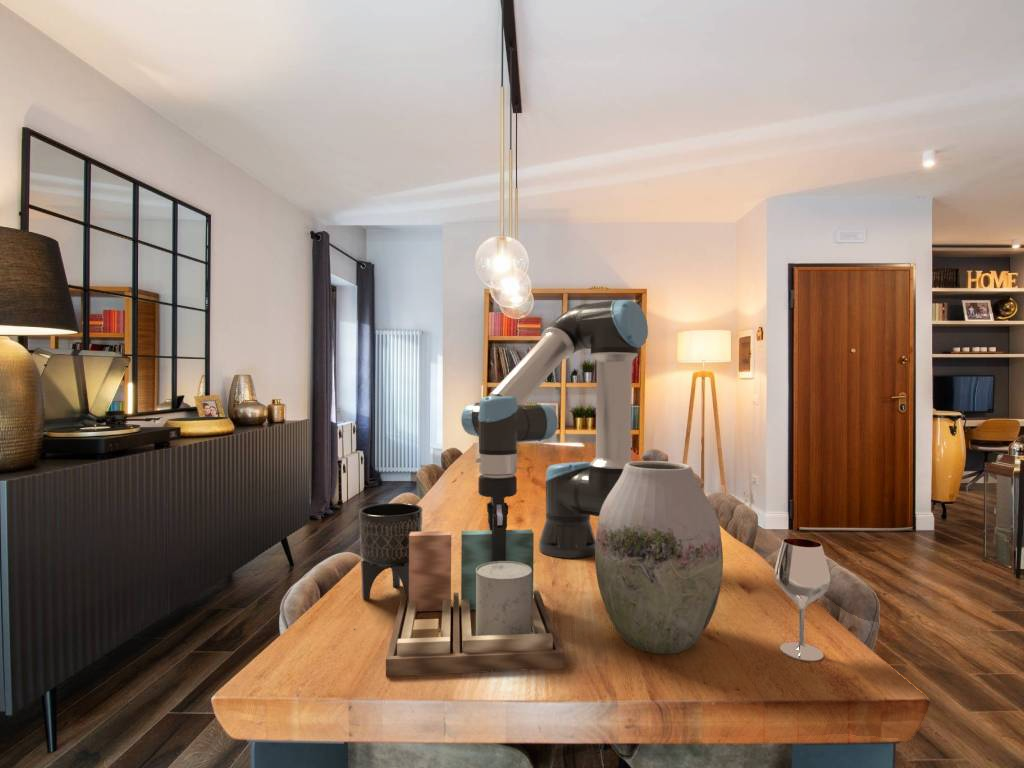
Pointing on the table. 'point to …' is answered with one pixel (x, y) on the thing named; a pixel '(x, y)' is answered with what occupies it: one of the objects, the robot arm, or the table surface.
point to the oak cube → (425, 628)
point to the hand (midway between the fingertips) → (496, 593)
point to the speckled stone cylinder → (503, 598)
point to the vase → (659, 556)
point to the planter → (387, 542)
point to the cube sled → (428, 591)
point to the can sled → (473, 555)
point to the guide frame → (472, 660)
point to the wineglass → (802, 586)
